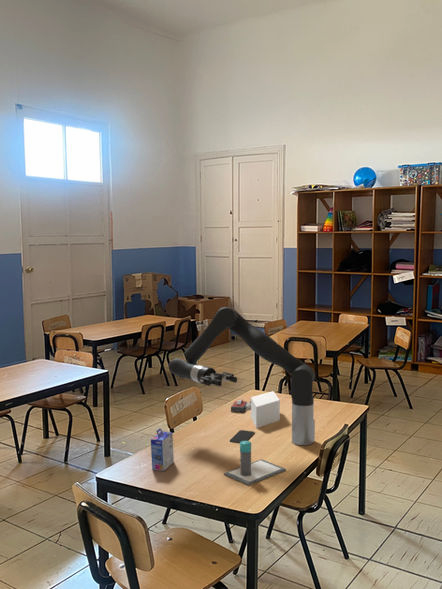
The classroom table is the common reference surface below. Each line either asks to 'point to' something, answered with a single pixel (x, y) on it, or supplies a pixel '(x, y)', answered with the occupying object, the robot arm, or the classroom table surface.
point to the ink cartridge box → (162, 450)
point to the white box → (265, 409)
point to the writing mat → (256, 472)
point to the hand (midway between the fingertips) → (228, 381)
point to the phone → (242, 436)
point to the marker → (245, 458)
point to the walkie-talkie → (240, 406)
